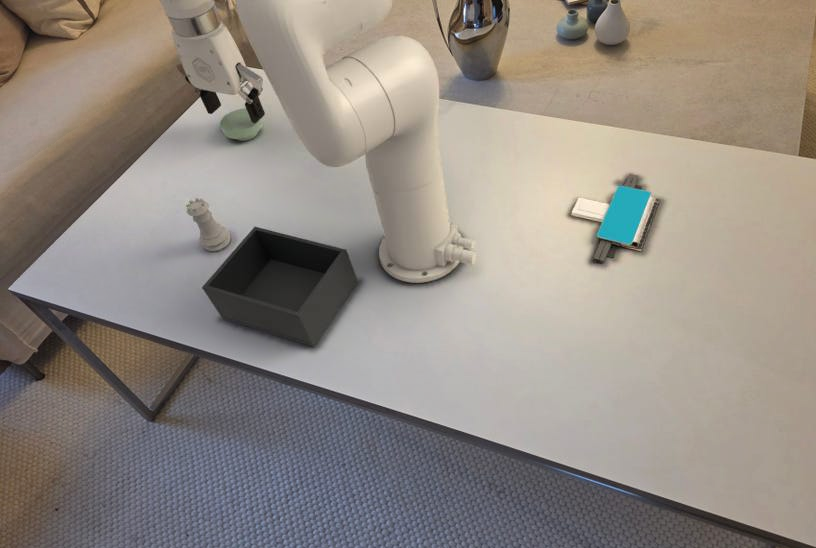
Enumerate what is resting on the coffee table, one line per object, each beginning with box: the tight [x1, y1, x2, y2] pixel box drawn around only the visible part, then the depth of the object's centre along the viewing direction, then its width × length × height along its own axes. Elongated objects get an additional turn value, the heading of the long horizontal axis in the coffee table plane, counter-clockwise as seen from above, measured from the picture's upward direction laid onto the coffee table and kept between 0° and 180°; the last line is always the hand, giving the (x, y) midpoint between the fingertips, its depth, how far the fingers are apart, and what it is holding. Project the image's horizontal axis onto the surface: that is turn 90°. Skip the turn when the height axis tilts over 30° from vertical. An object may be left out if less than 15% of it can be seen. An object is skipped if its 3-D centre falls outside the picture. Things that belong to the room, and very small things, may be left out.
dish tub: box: [201, 226, 359, 348], centre depth 81 cm, size 15×12×7 cm
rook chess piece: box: [185, 197, 232, 252], centre depth 89 cm, size 4×4×8 cm
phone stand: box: [571, 173, 661, 264], centre depth 89 cm, size 20×12×2 cm, turn 157°
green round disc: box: [219, 107, 264, 142], centre depth 109 cm, size 7×7×3 cm
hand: (236, 114), depth 107 cm, fingers open, 9 cm apart
